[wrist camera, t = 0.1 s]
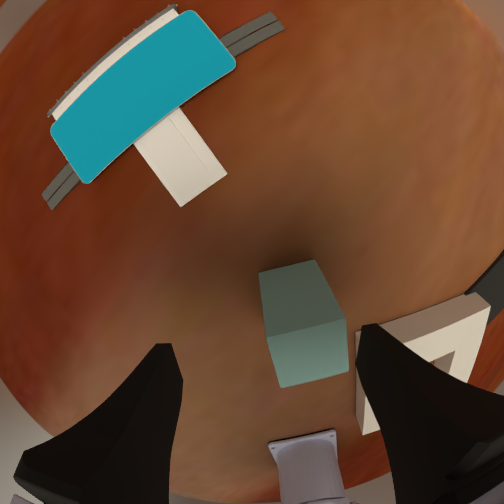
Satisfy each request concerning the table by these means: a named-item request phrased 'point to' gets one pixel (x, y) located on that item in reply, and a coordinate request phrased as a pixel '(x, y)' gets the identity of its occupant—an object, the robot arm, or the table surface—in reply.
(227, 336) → the table surface
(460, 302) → the socket block
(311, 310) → the peg
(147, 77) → the teal sliding drawer box
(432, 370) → the robot arm
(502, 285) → the phone
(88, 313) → the table surface
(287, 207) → the table surface
